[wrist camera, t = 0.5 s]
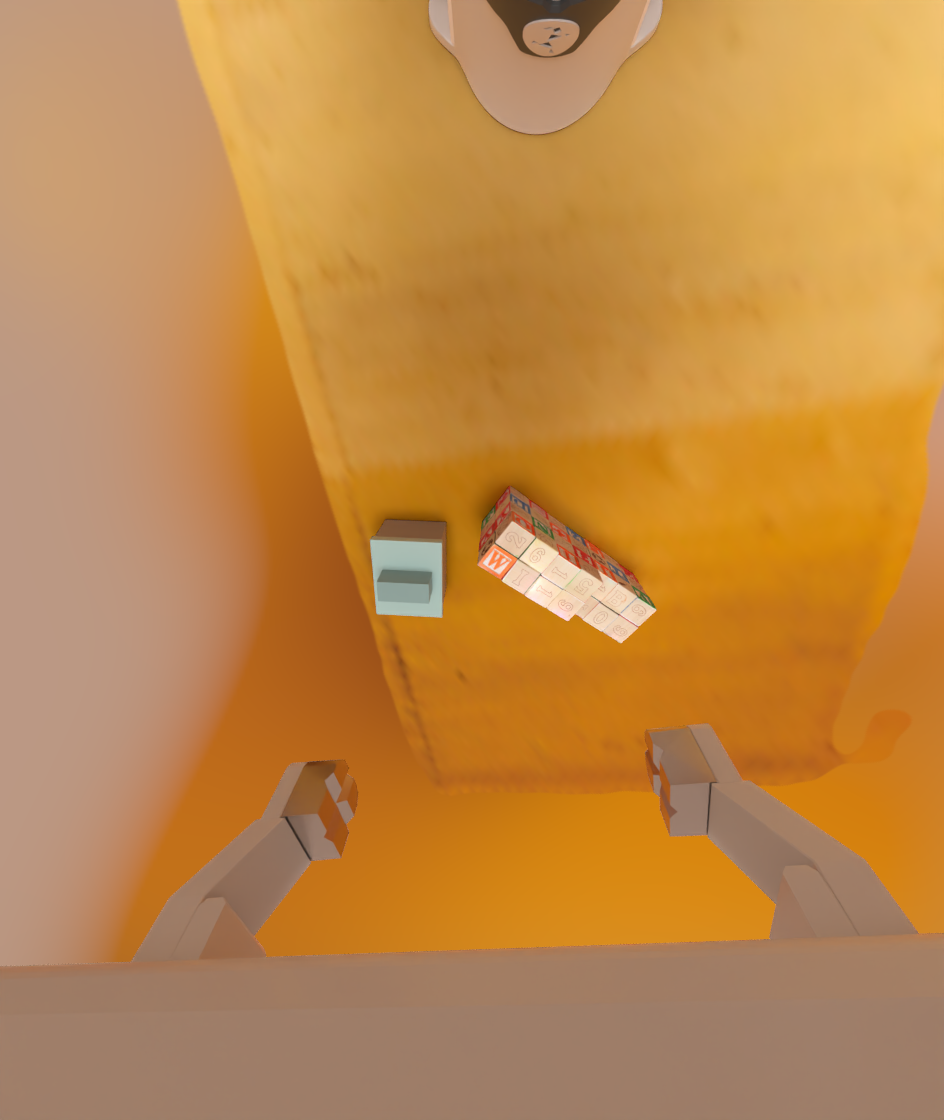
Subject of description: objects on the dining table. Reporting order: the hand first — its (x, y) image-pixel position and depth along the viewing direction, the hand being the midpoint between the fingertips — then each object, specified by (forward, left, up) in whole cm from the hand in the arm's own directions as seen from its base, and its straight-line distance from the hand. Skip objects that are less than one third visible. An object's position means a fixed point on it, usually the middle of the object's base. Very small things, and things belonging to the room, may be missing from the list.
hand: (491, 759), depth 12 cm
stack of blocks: (+14, +9, -45) cm, 48 cm away
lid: (+16, -10, -39) cm, 44 cm away
